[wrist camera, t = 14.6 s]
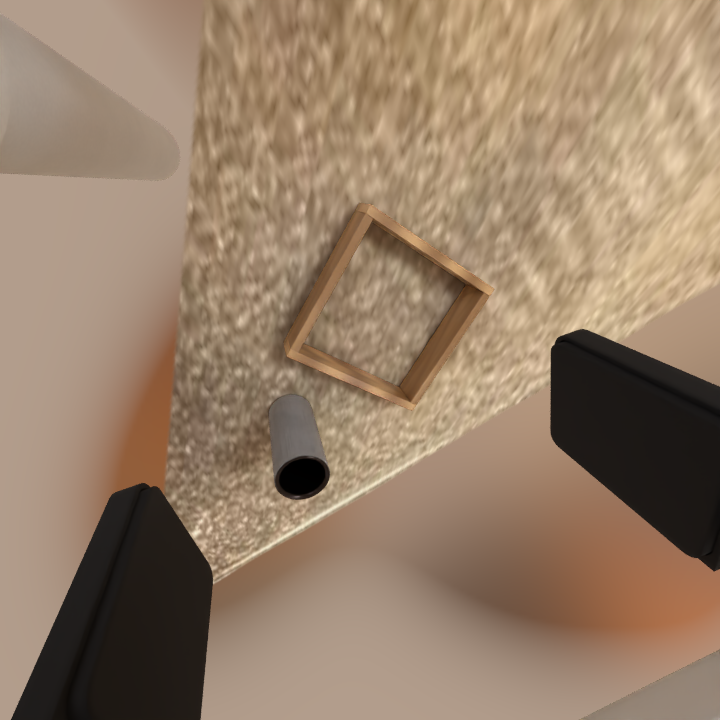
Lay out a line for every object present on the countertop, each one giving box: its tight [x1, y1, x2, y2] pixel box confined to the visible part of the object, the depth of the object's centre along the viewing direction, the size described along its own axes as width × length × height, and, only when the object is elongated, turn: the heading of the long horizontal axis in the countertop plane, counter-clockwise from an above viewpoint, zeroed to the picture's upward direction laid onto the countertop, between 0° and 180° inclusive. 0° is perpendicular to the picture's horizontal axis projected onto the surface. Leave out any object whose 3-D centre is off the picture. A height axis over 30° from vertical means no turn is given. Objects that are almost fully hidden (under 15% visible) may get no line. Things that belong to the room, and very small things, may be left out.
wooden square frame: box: [283, 203, 494, 411], centre depth 37 cm, size 15×15×4 cm
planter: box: [269, 395, 330, 500], centre depth 36 cm, size 4×4×10 cm
